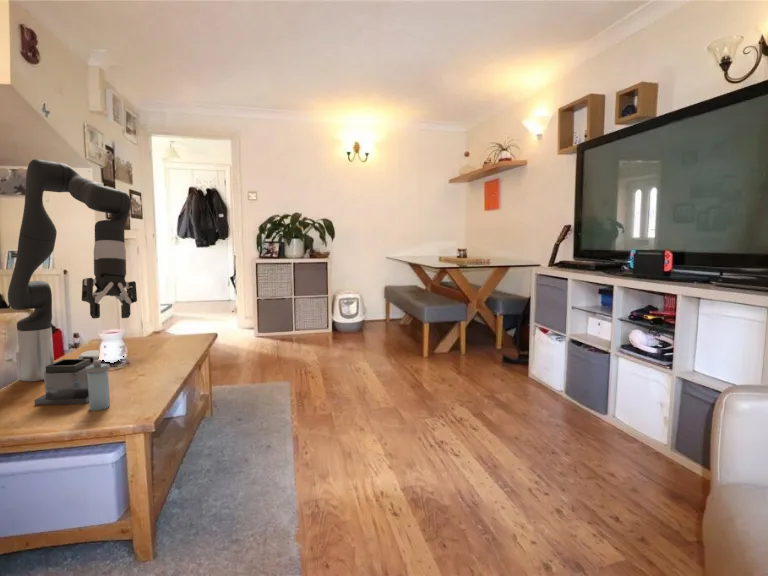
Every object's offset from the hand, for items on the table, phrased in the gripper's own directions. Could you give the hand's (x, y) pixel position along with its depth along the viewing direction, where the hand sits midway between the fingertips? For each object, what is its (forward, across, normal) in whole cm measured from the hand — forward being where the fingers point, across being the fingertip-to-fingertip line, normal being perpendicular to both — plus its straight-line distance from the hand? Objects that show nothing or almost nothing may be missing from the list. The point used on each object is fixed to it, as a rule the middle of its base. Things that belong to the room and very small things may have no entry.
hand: (111, 318), depth 120 cm
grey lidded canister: (+25, -5, -12) cm, 28 cm away
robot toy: (+14, -36, -53) cm, 66 cm away
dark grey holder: (+22, -7, -26) cm, 35 cm away
